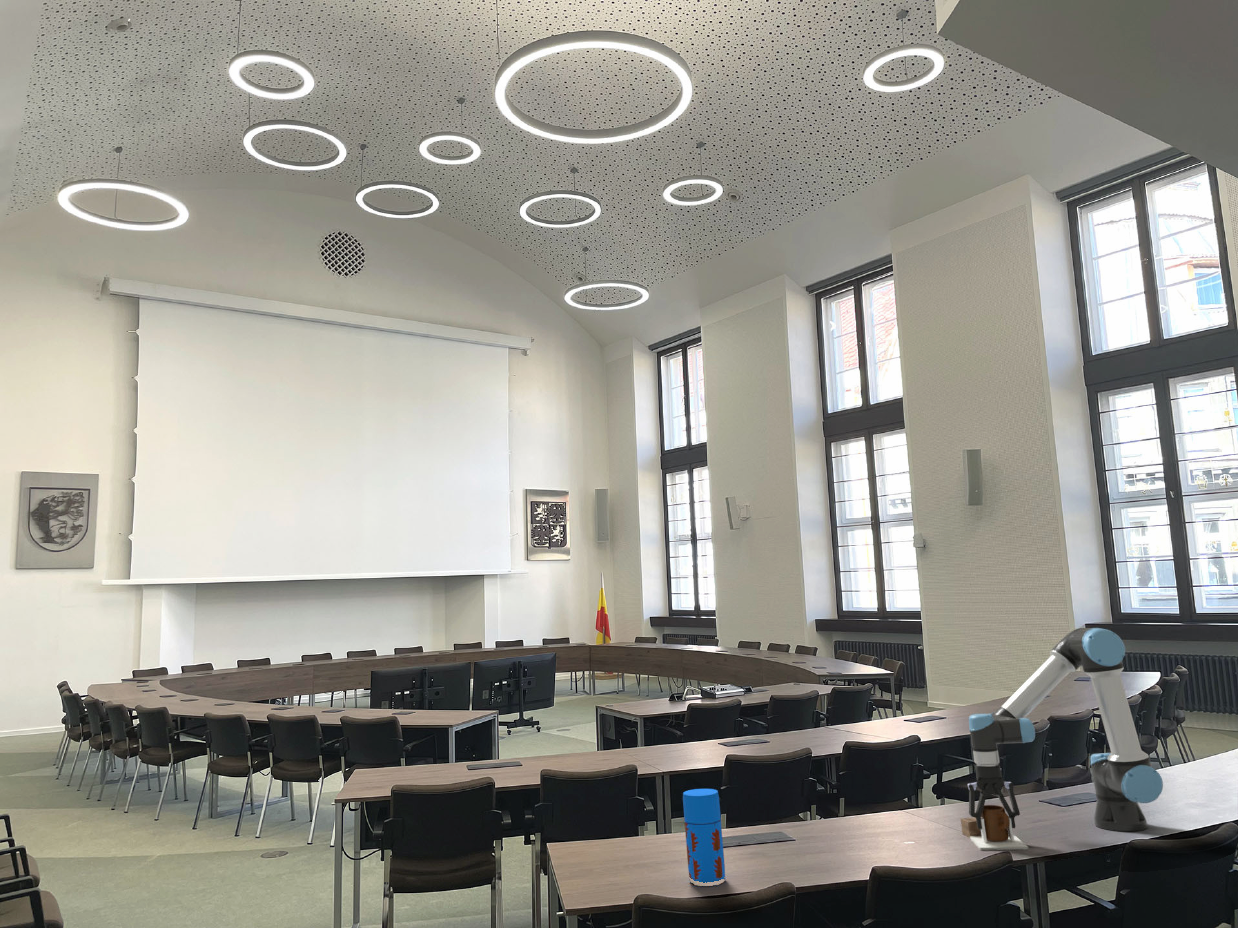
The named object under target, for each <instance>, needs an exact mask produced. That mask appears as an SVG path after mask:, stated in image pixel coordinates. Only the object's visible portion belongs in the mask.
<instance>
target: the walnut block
mask: <svg viewBox="0 0 1238 928" xmlns="http://www.w3.org/2000/svg"><path fill="white" fill-rule="evenodd" d="M960 824H961V825H960V827H961V831H962V835H963V836H965V837H967V838H969V839H970V836H982V834H981V829H978V827H977V822H976V818H975V817H966V818H965V817H964V818H960Z"/></svg>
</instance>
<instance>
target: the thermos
mask: <svg viewBox="0 0 1238 928" xmlns="http://www.w3.org/2000/svg"><path fill="white" fill-rule="evenodd" d="M718 791H719V790H717V789H714V788H694V789H689V790H686V791H684V792H683V793H682V803H683V805H682V806H683V818H684V829H685V843H686V845H685V846H686V856H687V869H688V876H689V877H690V878H691V879H693V880H694V881H699V882H703V883H705V882H706V883H707V882H714V881H719V880H721V879H724V877H725V878H726V866H725V855H724V854H725V853H724V843H723V842H724V841H723V830H722V829H723V828H722V819H721V806H720V796H719V792H718ZM689 877H688V878H689Z"/></svg>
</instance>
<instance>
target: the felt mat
mask: <svg viewBox="0 0 1238 928" xmlns="http://www.w3.org/2000/svg"><path fill="white" fill-rule="evenodd" d="M1013 836H1014V840H1011V839H1010V838H1008V839H1007V840H1005V841H991V840H987V841H984V840H983V839H982V836H970V838H969V839H970V840H971V842H972V843H973V844H974V845H975V846H976V847H977V849H979V850H980V851H1006V850H1007V851H1011V850H1015V851H1016V850H1017V851H1018V850H1029V846H1028V845H1026V844H1025V843H1024V841H1023V842H1022V839H1021V840H1020V839H1019V837H1017V835H1015V834H1013Z"/></svg>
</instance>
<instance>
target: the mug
mask: <svg viewBox="0 0 1238 928" xmlns="http://www.w3.org/2000/svg"><path fill="white" fill-rule="evenodd" d="M1008 816H1009V815H1008V813H1007V812H1006V810H1005V808H1004V806H1003V805H1002V806H1001V805H994V804H987V805H986V804H984V808H983V812H982V816H981V817H982V818H983V819H984V825H985V832H986V839H987V840H991V841H1005V840H1007V839H1008V838H1009V833H1008V827H1009V825H1010V820H1009V817H1008Z"/></svg>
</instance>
